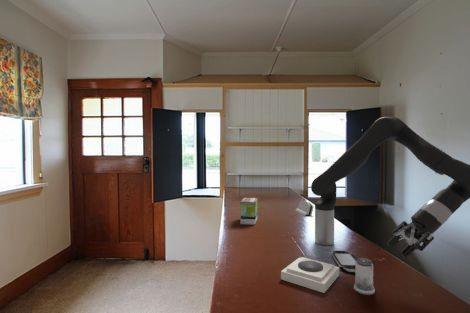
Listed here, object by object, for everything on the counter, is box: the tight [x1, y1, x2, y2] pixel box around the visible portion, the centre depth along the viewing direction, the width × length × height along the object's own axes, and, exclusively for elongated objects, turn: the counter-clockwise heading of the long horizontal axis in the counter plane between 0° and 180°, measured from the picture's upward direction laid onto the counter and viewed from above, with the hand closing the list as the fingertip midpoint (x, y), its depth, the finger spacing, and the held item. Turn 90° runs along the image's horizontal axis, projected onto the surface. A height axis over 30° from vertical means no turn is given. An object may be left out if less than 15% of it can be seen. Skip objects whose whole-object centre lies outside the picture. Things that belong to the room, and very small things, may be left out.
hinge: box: [295, 200, 314, 217], centre depth 202 cm, size 17×5×10 cm, turn 13°
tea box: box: [240, 197, 258, 226], centre depth 180 cm, size 15×10×15 cm
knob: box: [353, 257, 376, 296], centre depth 92 cm, size 6×6×10 cm
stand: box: [280, 256, 340, 294], centre depth 101 cm, size 16×16×4 cm
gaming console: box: [331, 249, 358, 274], centre depth 114 cm, size 19×9×2 cm, turn 174°
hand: (395, 250), depth 91 cm, fingers open, 8 cm apart
